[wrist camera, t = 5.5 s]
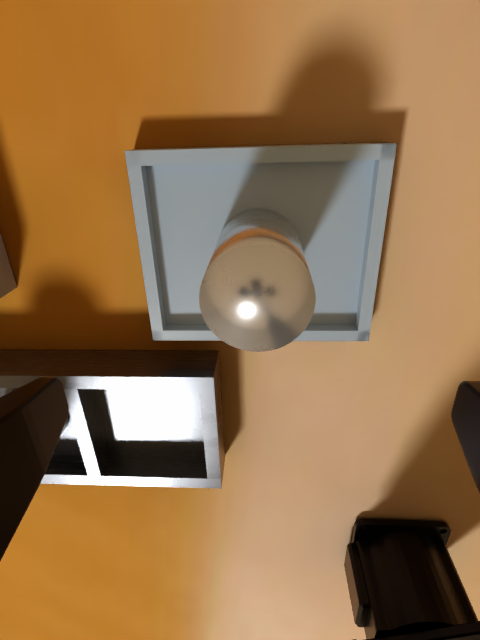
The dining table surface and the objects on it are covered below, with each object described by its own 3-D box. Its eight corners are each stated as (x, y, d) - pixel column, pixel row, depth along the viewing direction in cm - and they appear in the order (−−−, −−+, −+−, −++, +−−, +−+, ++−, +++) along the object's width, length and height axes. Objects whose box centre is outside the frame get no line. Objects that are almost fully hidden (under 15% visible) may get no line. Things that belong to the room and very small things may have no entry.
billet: (302, 207, 18) (319, 244, 12) (298, 289, 19) (312, 351, 14) (215, 209, 18) (194, 245, 12) (219, 289, 20) (203, 351, 14)
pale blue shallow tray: (388, 142, 17) (396, 143, 15) (363, 330, 21) (368, 341, 20) (133, 149, 17) (124, 151, 16) (158, 329, 21) (153, 340, 20)
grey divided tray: (218, 350, 22) (213, 377, 19) (225, 455, 25) (221, 488, 23) (-40, 349, 23) (-75, 375, 20) (2, 450, 26) (-23, 481, 24)
